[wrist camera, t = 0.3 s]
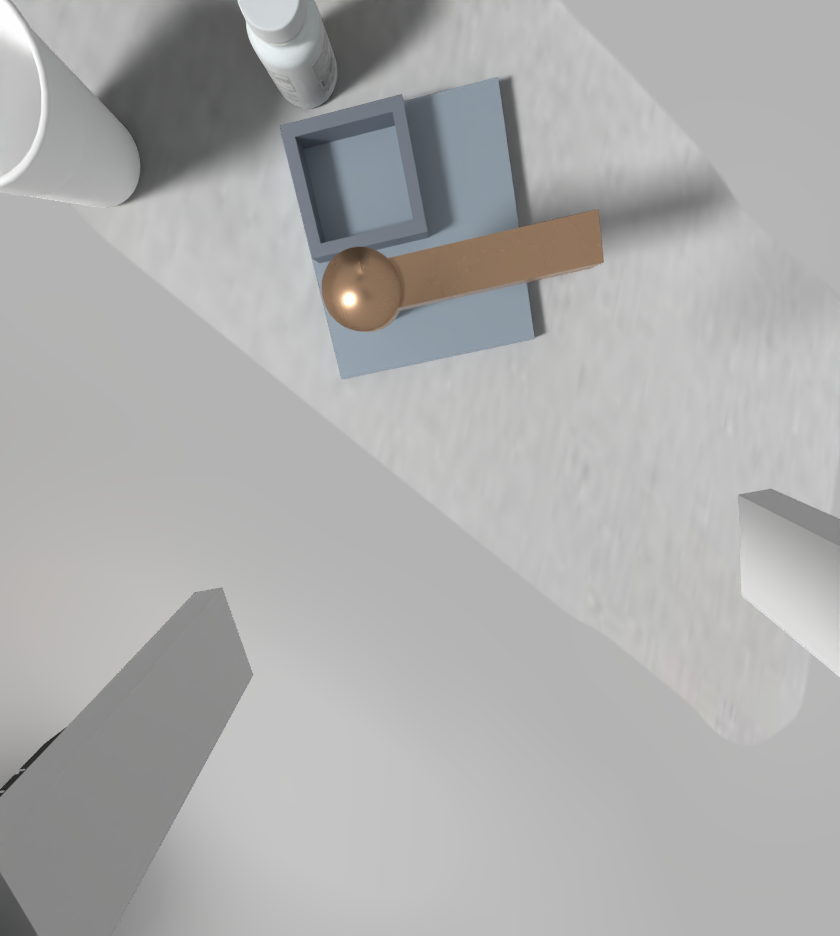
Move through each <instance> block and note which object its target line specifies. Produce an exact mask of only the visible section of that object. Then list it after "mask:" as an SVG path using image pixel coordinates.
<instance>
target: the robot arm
mask: <svg viewBox="0 0 840 936" xmlns="http://www.w3.org/2000/svg"><path fill="white" fill-rule="evenodd" d="M738 506H739V533H740V561H741V589H742V596H743V597H744V598H745V599H746V600H748V601H749V602H750V603H751V604H752V605H754V606H755V607H756V608H757V609H758V610H760V611H761V612H762V613H763V614H764V615H766V616H767V617H768V618H769V619H771V620H772V621H773V622H774V623H775V624H777V625H778V626H779V627H780V628H781V629H783V630H784V631H785V632H786V633H787V634H789V635H790V636H791V637H792V638H793V639H795V640H796V641H797V642H798V643H799V644H801V645H802V646H803V647H804V648H805V649H807V650H808V651H809V652H810V653H811V654H813V655H814V656H815V657H816V658H818V659H819V660H820V661H821V662H822V663H823V664H825V665H826V666H827V667H828V668H830V669H831V670H832V671H833V672H834V673H836V674H837V675H838V676H839V677H840V519H838V518H836V517H834V516H832V515H829V514H827V513H825V512H823V511H820V510H818V509H816V508H814V507H811V506H809V505H807V504H804V503H802V502H800V501H798V500H795V499H793V498H791V497H789V496H786V495H784V494H782V493H780V492H777V491H775V490H773V489H768V490H762V491H757V492H751V493H746V494H740V495H738ZM252 676H253V673H252V670H251V667H250V664H249V662H248V659H247V656H246V653H245V650H244V648H243V645H242V642H241V639H240V636H239V633H238V631H237V628H236V625H235V622H234V620H233V617H232V614H231V611H230V608H229V606H228V603H227V600H226V597H225V594H224V591H223V588H217V589H211V590H206V591H200V592H195V593H194V594H193V595H192V596H191V597H190V598H189V599H188V600H187V601H186V602H185V604H183V606H182V607H181V608H180V609H179V610H178V611H177V612H176V613H175V614H174V615H173V616H172V617H171V618H170V619H169V620H168V621H167V622H166V623H165V624H164V625H163V626H162V628H161V629H160V630H159V631H158V632H157V633H156V634H155V635H154V636H153V637H152V638H151V639H150V640H149V641H148V642H147V643H146V644H145V645H144V647H143V648H142V649H141V650H140V651H139V652H138V653H137V654H136V655H135V656H134V657H133V658H132V659H131V660H130V661H129V662H128V663H127V664H126V665H125V666H124V668H123V669H122V670H121V671H120V672H119V673H118V674H117V675H116V676H115V677H114V678H113V679H112V680H111V681H110V682H109V683H108V684H107V685H106V686H105V687H104V689H103V690H102V691H101V692H100V693H99V694H98V695H97V696H96V697H95V698H94V699H93V700H92V701H91V702H90V703H89V704H88V705H87V707H85V709H84V710H83V711H82V712H81V713H80V714H79V715H78V716H77V717H76V718H75V719H74V720H73V721H72V722H71V723H70V724H69V725H68V726H67V727H66V728H65V729H63V730H62V731H61V732H59V733H58V734H57V735H56V736H54V737H53V738H52V739H50V740H49V741H48V742H46V743H45V744H44V745H43V746H42V747H41V748H40V749H39V750H38V751H37V752H36V753H35V754H34V755H33V756H32V757H31V758H30V759H29V760H28V761H27V762H26V763H25V765H23V766H22V768H21V769H20V772H19V774H17V775H14V776H13V777H12V778H11V779H10V780H9V781H8V782H7V783H6V784H5V785H4V786H3V787H2V788H1V789H0V936H112V934H113V932H114V930H115V928H116V927H117V925H118V923H119V921H120V919H121V917H122V916H123V914H124V912H125V910H126V908H127V906H128V904H129V903H130V901H131V899H132V897H133V895H134V894H135V892H136V890H137V888H138V886H139V884H140V882H141V880H142V879H143V877H144V875H145V873H146V871H147V870H148V868H149V866H150V864H151V862H152V860H153V858H154V857H155V855H156V853H157V851H158V849H159V847H160V846H161V844H162V842H163V840H164V838H165V836H166V835H167V833H168V831H169V829H170V827H171V825H172V823H173V822H174V820H175V818H176V816H177V814H178V812H179V810H180V809H181V807H182V805H183V803H184V801H185V799H186V798H187V796H188V794H189V792H190V790H191V788H192V787H193V784H194V783H195V781H196V779H197V777H198V776H199V774H200V772H201V770H202V768H203V766H204V765H205V763H206V761H207V759H208V757H209V755H210V753H211V751H212V750H213V748H214V746H215V744H216V742H217V741H218V739H219V737H220V735H221V733H222V731H223V729H224V728H225V726H226V724H227V722H228V720H229V718H230V717H231V715H232V713H233V711H234V709H235V707H236V705H237V704H238V702H239V700H240V698H241V696H242V695H243V693H244V691H245V689H246V687H247V685H248V683H249V682H250V680H251V678H252Z"/></svg>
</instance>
